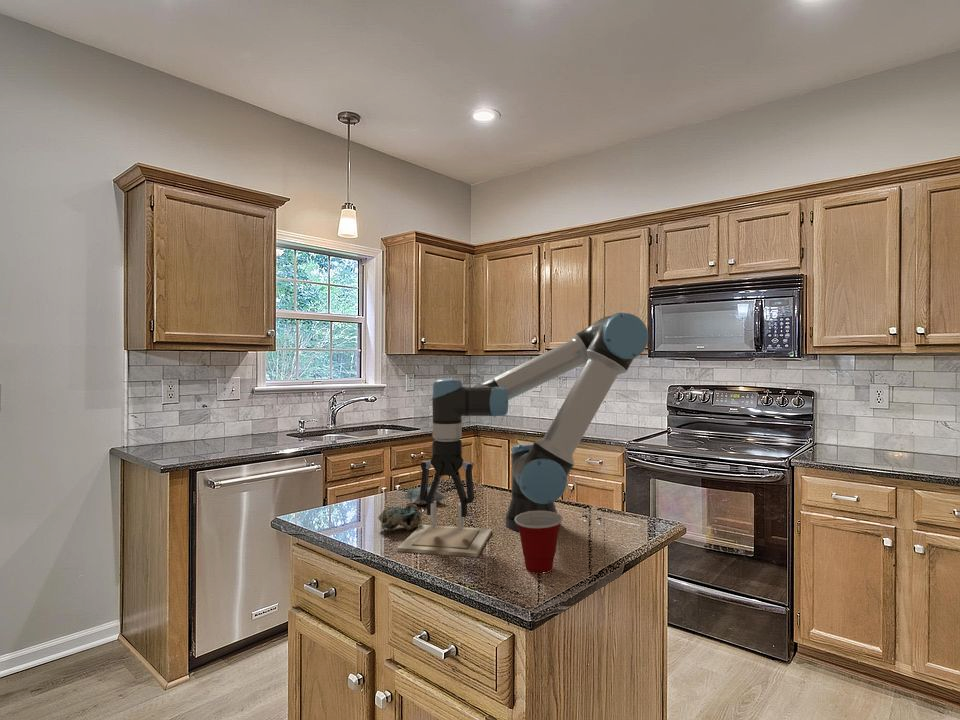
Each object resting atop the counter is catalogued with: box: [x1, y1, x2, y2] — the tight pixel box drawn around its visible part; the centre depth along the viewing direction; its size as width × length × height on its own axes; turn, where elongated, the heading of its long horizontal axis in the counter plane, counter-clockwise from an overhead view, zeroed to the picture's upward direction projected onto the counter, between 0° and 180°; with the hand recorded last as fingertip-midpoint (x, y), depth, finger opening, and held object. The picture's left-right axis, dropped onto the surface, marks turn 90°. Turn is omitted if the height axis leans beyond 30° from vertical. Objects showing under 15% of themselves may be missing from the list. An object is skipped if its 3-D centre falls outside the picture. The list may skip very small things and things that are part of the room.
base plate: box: [396, 524, 493, 558], centre depth 149 cm, size 20×20×1 cm
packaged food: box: [404, 486, 448, 505], centre depth 187 cm, size 9×12×5 cm
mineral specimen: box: [377, 503, 423, 531], centre depth 159 cm, size 12×9×8 cm
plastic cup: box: [514, 511, 563, 574], centre depth 129 cm, size 11×11×12 cm
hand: (447, 528), depth 149 cm, fingers open, 7 cm apart
